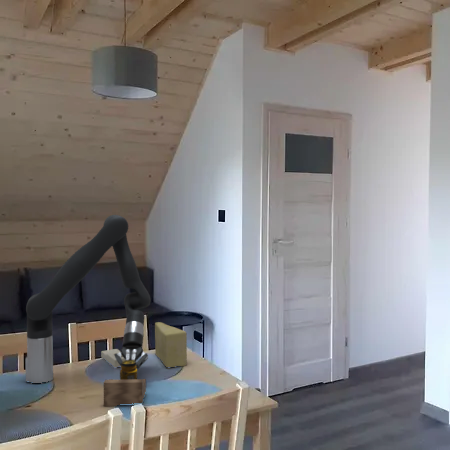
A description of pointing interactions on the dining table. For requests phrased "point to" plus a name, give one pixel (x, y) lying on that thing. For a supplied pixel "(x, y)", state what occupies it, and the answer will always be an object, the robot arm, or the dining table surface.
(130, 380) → the dark wood block
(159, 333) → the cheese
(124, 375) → the condiment
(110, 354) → the electrical outlet
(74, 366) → the dining table surface
